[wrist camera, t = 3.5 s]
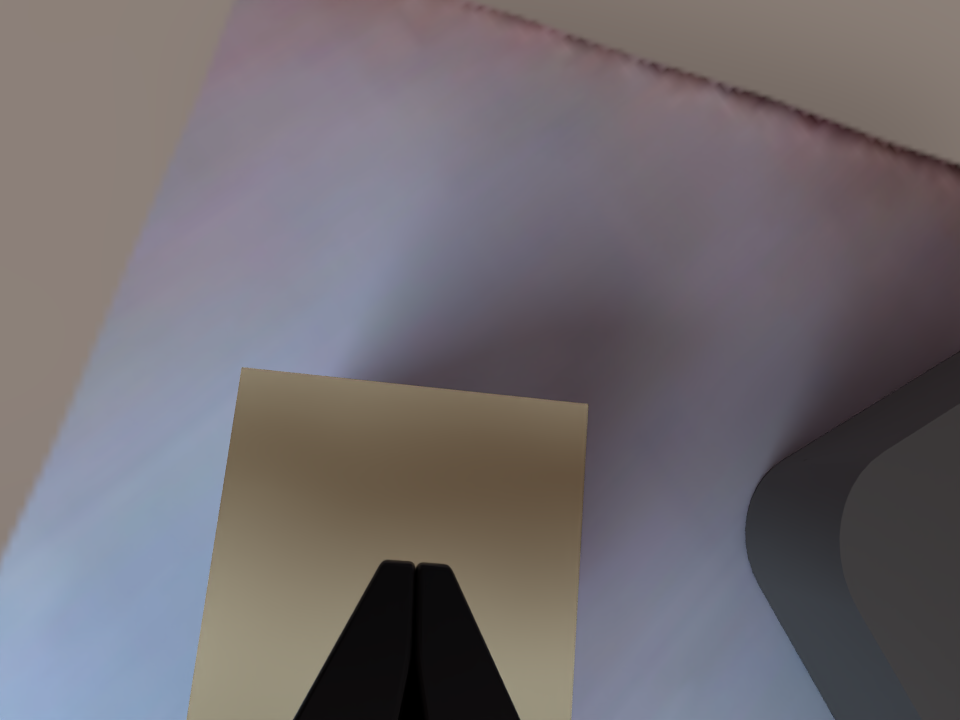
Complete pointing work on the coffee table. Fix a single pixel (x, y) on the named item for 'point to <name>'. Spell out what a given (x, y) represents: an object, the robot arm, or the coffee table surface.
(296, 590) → the plain birch block
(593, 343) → the coffee table surface
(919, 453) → the streaming box
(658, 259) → the coffee table surface
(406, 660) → the robot arm
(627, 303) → the coffee table surface
